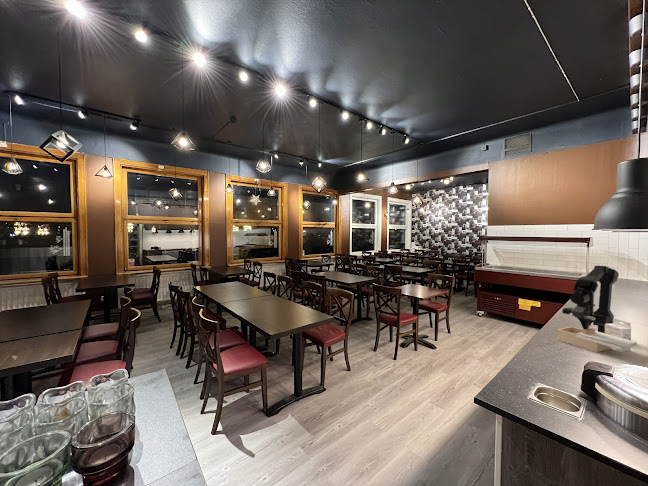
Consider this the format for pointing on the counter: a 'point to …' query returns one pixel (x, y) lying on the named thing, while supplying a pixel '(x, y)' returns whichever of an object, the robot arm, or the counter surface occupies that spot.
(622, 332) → the ink cartridge box
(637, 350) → the counter surface
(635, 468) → the counter surface
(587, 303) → the robot arm
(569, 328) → the wooden box
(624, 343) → the lid
